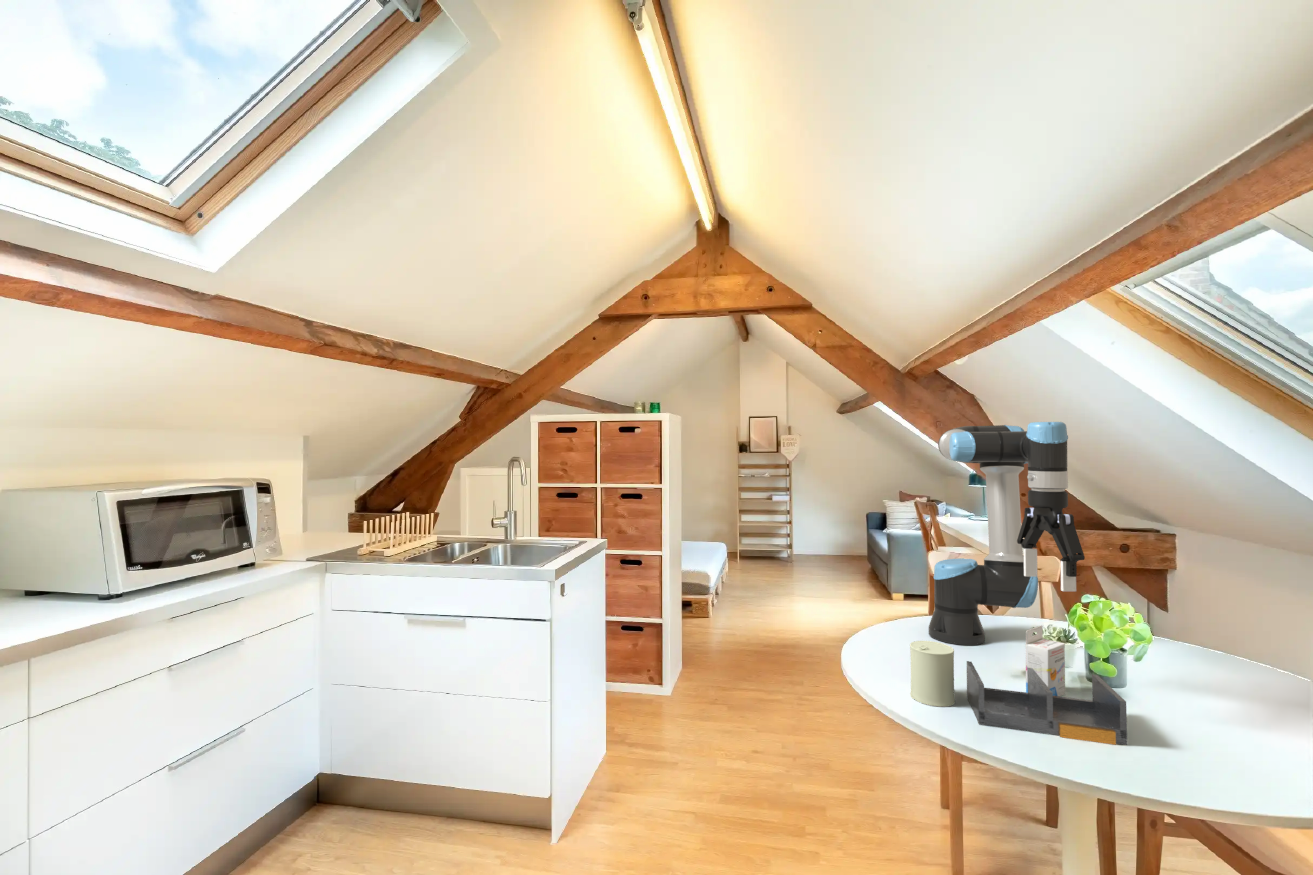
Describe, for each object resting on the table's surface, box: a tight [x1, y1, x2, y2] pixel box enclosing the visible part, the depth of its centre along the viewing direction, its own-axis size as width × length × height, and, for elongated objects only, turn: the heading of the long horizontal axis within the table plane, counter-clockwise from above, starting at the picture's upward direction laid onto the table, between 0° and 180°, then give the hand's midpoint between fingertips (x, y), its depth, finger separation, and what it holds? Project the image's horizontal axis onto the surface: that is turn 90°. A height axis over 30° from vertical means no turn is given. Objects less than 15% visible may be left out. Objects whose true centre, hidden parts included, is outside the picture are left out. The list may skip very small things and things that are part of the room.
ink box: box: [1025, 624, 1066, 697], centre depth 133 cm, size 8×5×15 cm, turn 123°
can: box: [909, 640, 956, 708], centre depth 131 cm, size 9×9×12 cm
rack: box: [966, 660, 1128, 746], centre depth 120 cm, size 15×25×8 cm, turn 71°
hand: (1048, 583), depth 131 cm, fingers open, 13 cm apart
